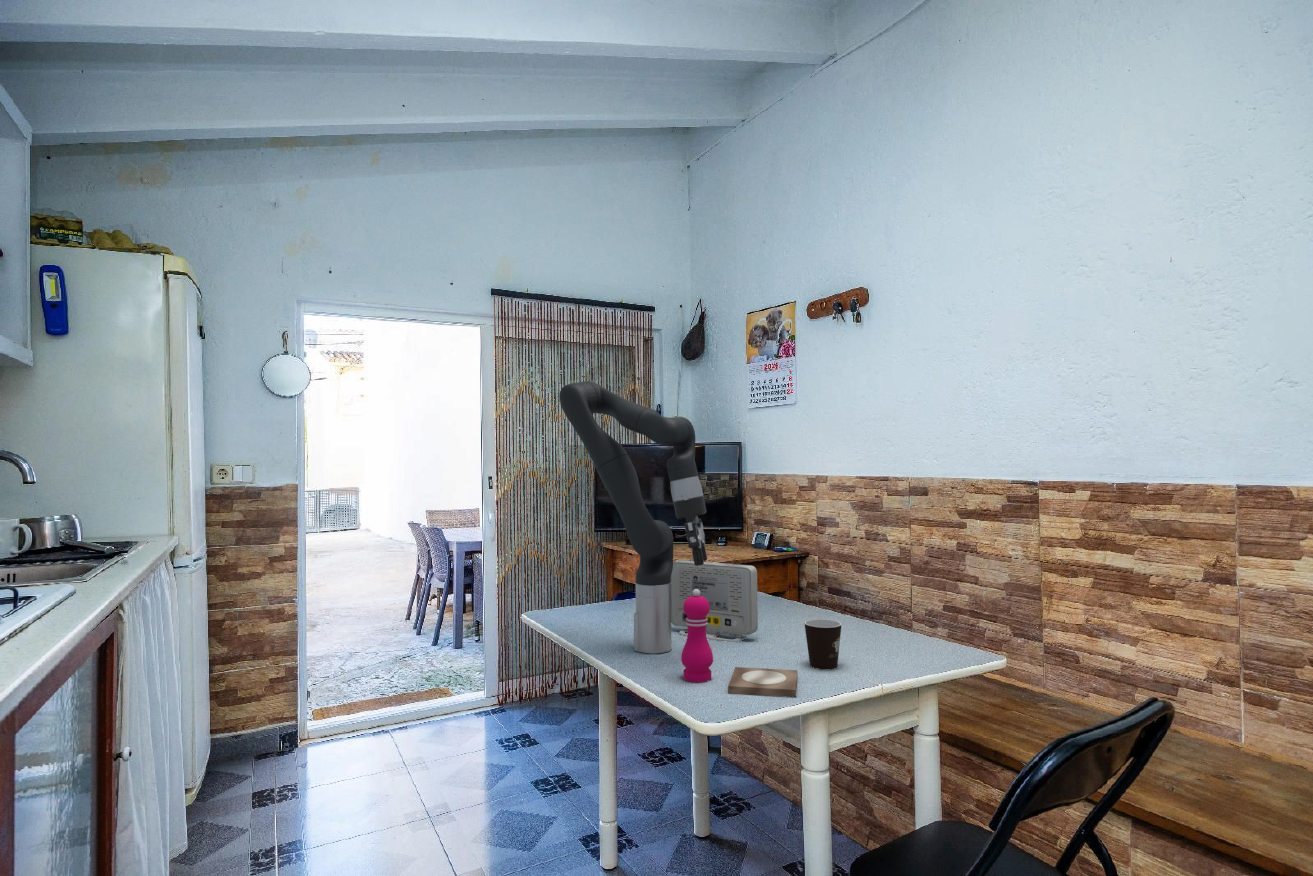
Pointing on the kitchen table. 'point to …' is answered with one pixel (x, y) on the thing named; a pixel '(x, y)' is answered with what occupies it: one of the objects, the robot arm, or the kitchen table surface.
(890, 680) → the kitchen table surface
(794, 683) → the walnut board
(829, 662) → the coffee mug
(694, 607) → the pepper mill
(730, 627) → the network device
